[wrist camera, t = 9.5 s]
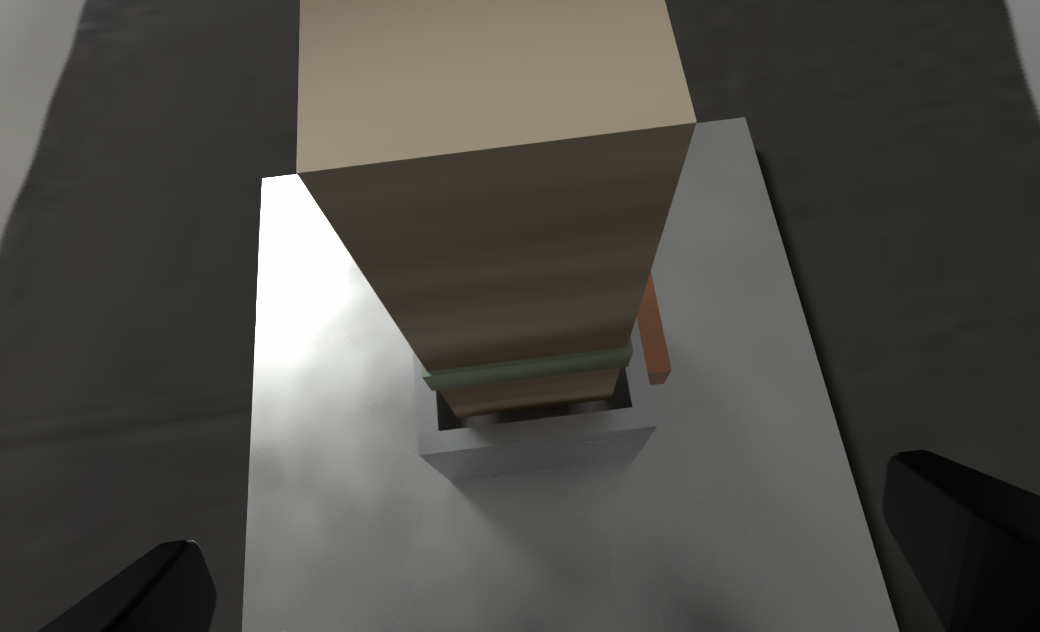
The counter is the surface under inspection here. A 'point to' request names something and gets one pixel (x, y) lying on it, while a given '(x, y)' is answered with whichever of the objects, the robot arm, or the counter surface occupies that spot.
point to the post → (498, 179)
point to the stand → (557, 452)
